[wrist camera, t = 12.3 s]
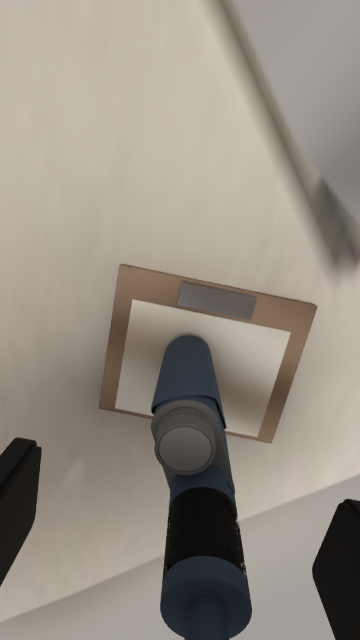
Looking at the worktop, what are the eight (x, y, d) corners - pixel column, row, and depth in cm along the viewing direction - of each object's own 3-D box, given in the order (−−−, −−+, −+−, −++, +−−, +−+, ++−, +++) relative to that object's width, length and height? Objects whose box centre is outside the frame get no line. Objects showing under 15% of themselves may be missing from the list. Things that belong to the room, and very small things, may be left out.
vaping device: (182, 415, 19) (165, 700, 7) (161, 336, 18) (99, 534, 6) (224, 407, 19) (273, 691, 7) (205, 326, 17) (228, 514, 6)
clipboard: (269, 437, 20) (274, 452, 19) (101, 403, 20) (94, 415, 18) (313, 304, 17) (323, 309, 16) (121, 263, 17) (115, 266, 16)
